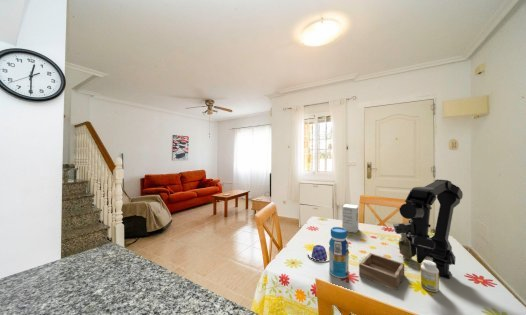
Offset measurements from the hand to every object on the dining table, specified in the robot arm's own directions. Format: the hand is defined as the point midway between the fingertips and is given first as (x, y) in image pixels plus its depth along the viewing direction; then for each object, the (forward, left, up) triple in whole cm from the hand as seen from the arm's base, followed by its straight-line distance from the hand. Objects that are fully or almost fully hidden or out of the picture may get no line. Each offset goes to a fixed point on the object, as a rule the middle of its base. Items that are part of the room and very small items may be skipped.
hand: (416, 259), depth 79 cm
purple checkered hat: (+4, -40, -13) cm, 42 cm away
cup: (-25, -7, -12) cm, 29 cm away
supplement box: (-44, -44, -12) cm, 63 cm away
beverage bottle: (+11, -26, -12) cm, 31 cm away
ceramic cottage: (-43, -8, -12) cm, 45 cm away
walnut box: (-1, -12, -12) cm, 17 cm away
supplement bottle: (-5, +4, -12) cm, 14 cm away
